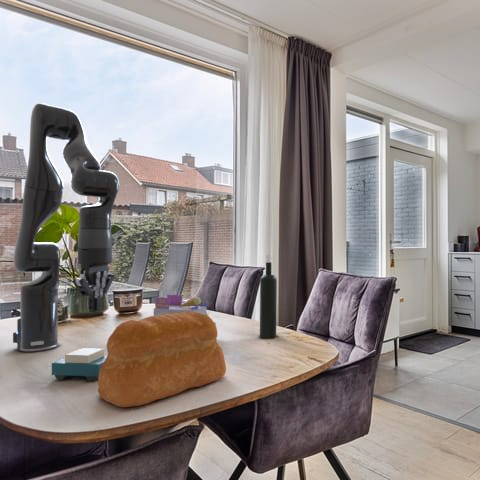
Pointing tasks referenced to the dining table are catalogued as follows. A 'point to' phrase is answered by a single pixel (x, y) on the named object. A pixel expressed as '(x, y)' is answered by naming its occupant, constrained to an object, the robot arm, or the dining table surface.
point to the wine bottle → (268, 301)
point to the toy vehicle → (178, 305)
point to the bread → (160, 358)
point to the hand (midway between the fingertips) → (94, 311)
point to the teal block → (80, 364)
